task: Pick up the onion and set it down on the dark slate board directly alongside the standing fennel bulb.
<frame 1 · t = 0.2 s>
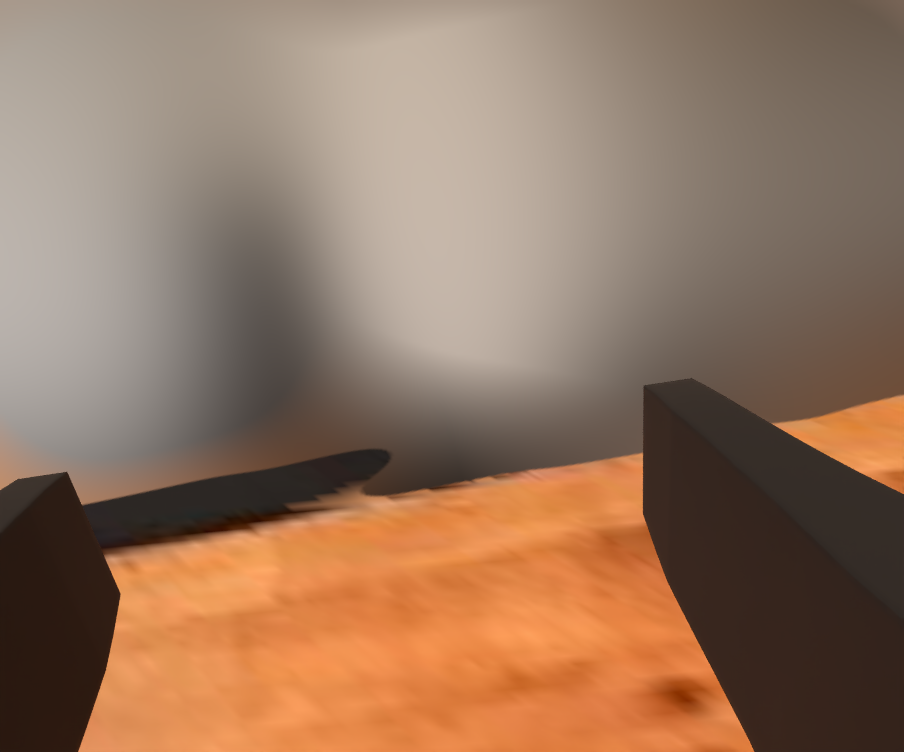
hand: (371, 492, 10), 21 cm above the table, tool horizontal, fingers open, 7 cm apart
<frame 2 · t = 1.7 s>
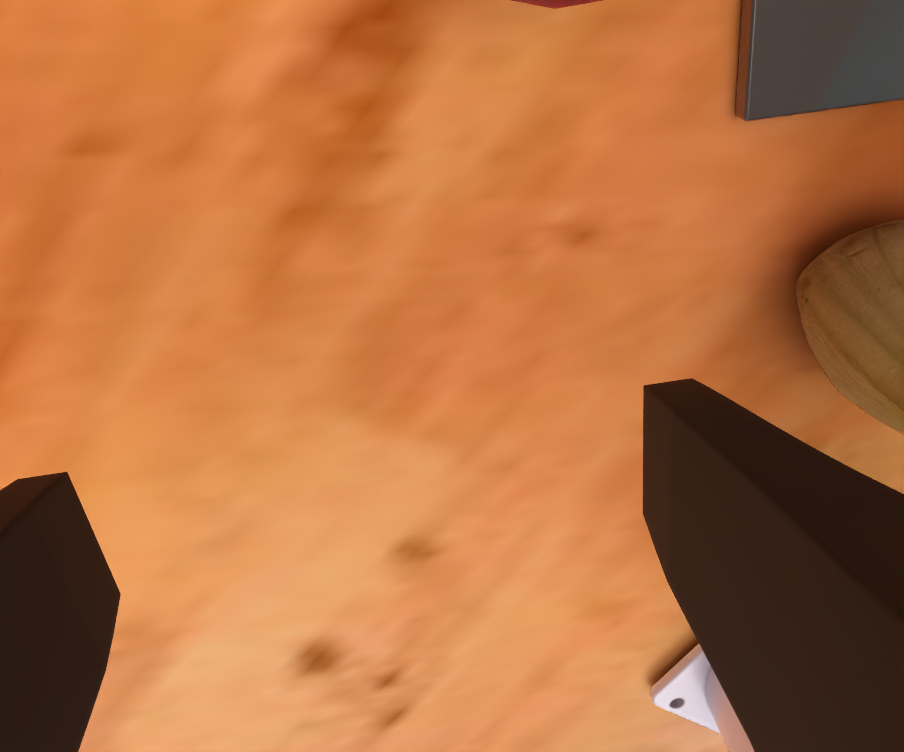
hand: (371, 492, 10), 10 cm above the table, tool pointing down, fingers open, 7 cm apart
fennel bulb: (865, 283, 21), on the table
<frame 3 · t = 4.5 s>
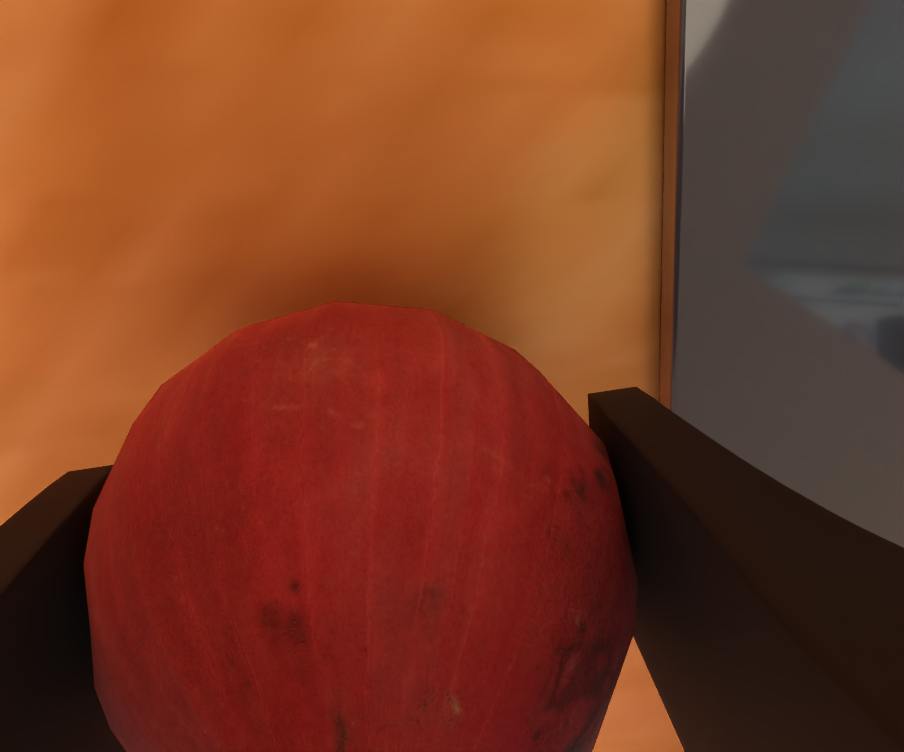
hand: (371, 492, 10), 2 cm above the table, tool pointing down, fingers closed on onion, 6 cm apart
onion: (367, 390, 12), on the table, touching gripper
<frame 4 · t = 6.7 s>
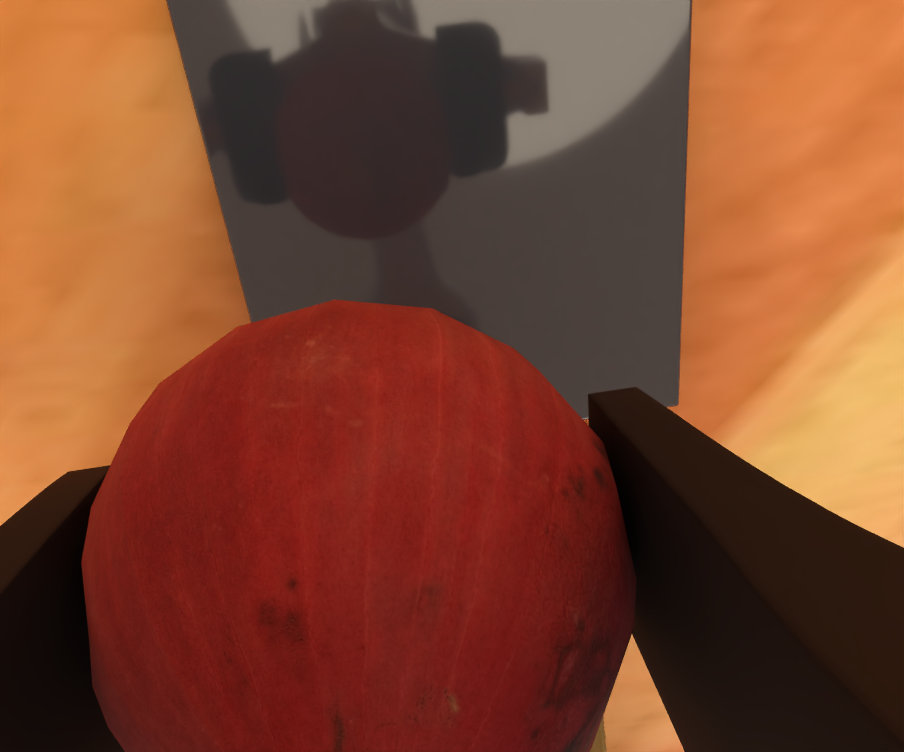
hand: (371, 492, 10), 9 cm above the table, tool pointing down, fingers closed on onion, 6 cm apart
onion: (366, 389, 12), point 6 cm above the table, touching gripper
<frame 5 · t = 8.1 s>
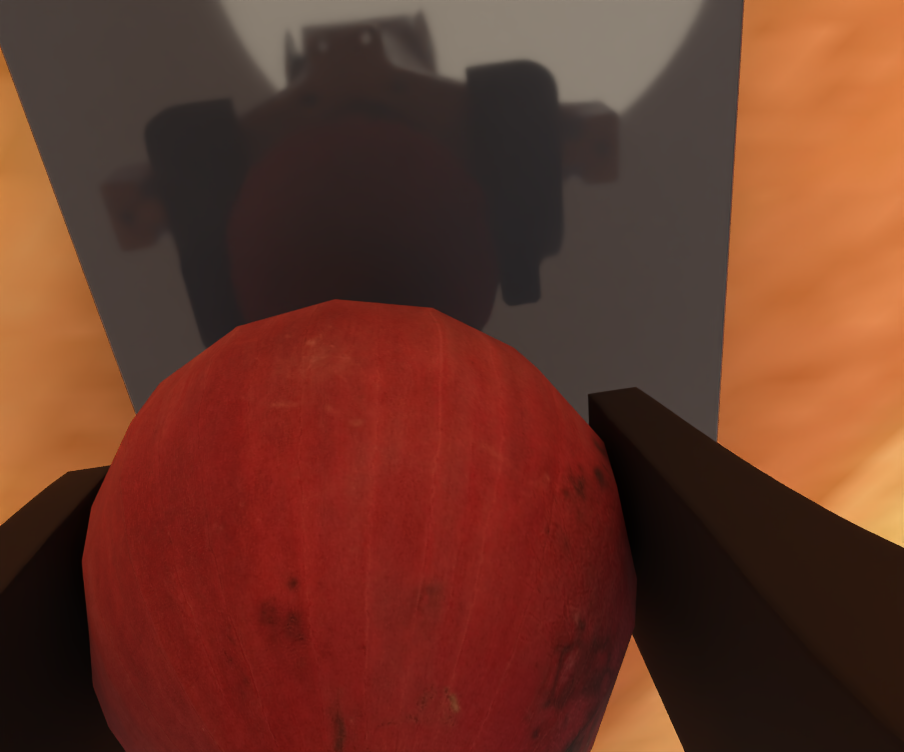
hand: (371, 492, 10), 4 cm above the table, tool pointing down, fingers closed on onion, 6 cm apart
onion: (366, 388, 12), point 1 cm above the table, touching gripper
slate board: (383, 26, 11), on the table
when the fingers open (3 cm above the table, at t = 9.1 s): onion stays where it is, resting on slate board.
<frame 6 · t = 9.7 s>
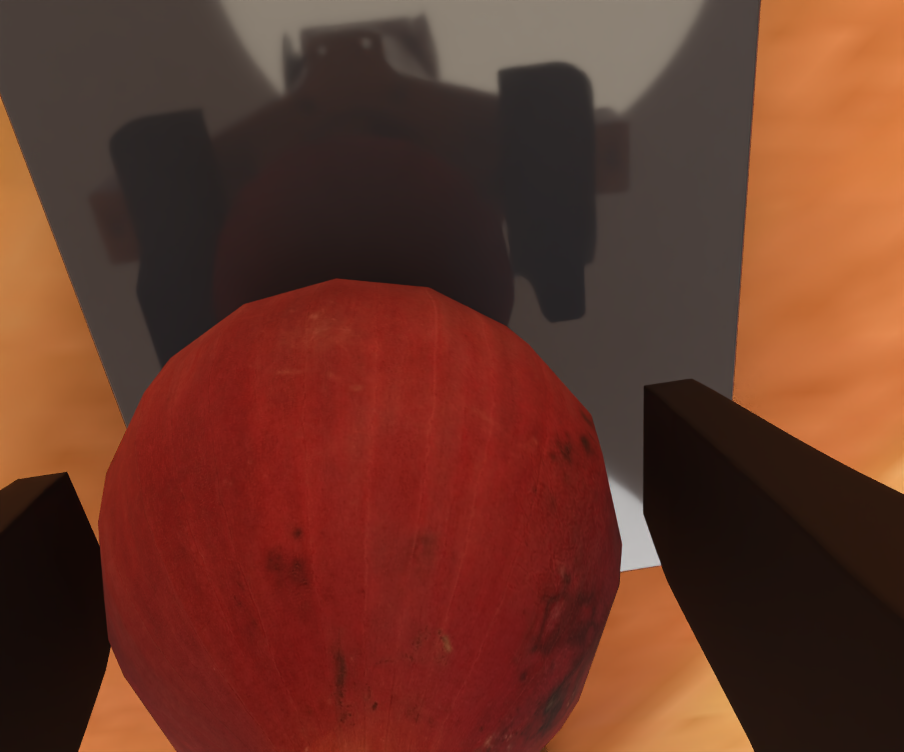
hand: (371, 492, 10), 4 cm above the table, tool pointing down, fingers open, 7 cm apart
onion: (366, 371, 13), resting on slate board
slate board: (384, 30, 11), on the table
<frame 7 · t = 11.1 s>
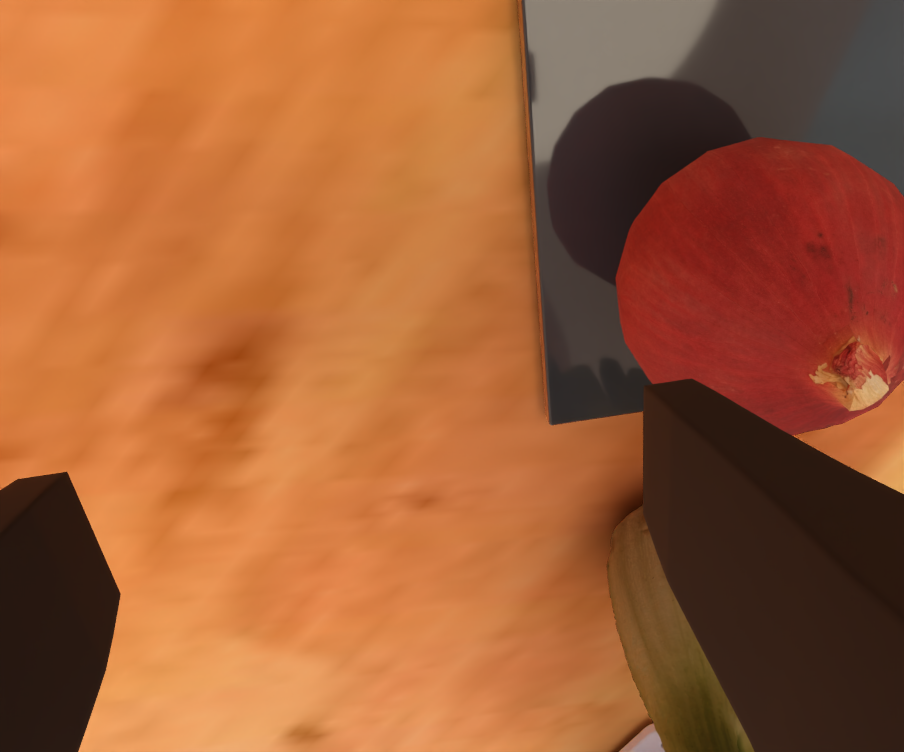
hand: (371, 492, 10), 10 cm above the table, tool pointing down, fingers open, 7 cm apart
onion: (694, 226, 20), resting on slate board
fennel bulb: (679, 525, 25), on the table
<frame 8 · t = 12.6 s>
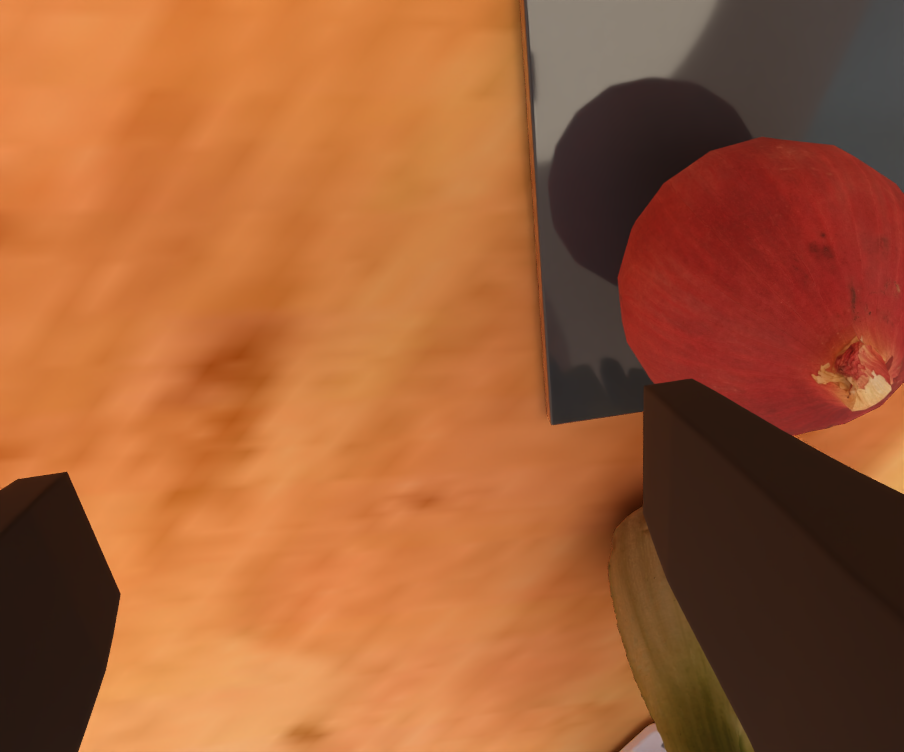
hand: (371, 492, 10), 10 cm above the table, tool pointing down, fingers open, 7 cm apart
onion: (696, 226, 20), resting on slate board
fennel bulb: (679, 525, 25), on the table
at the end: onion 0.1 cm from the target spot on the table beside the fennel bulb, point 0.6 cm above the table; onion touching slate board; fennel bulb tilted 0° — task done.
